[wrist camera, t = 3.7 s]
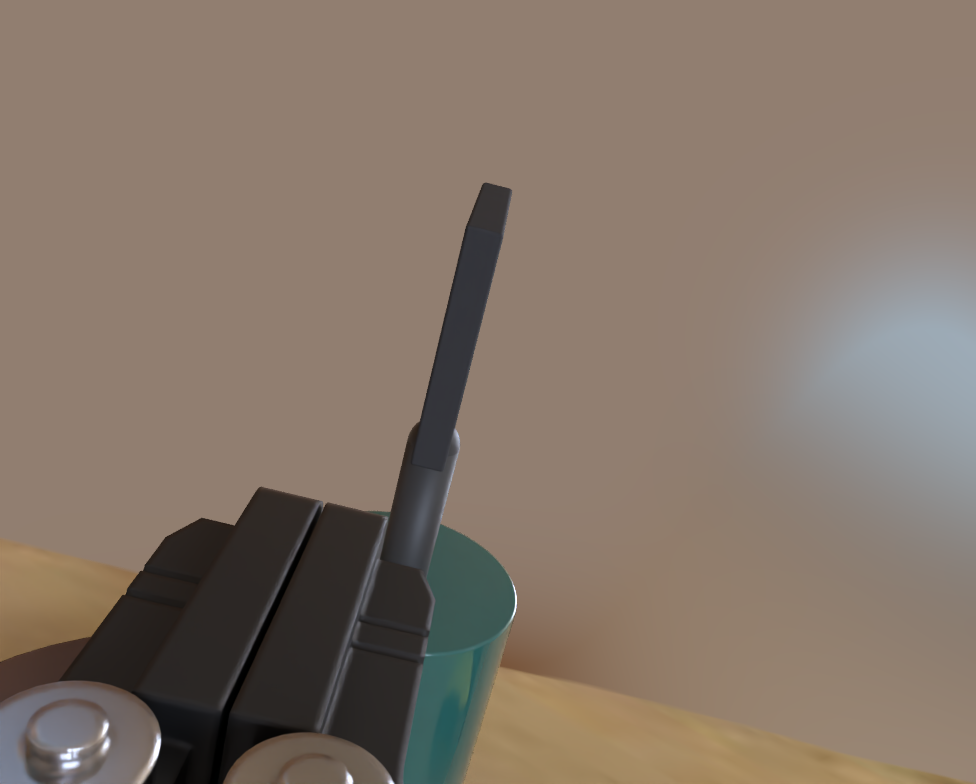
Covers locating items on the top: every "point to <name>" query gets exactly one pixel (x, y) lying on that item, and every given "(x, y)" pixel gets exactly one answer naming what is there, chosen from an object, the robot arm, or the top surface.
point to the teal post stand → (421, 541)
